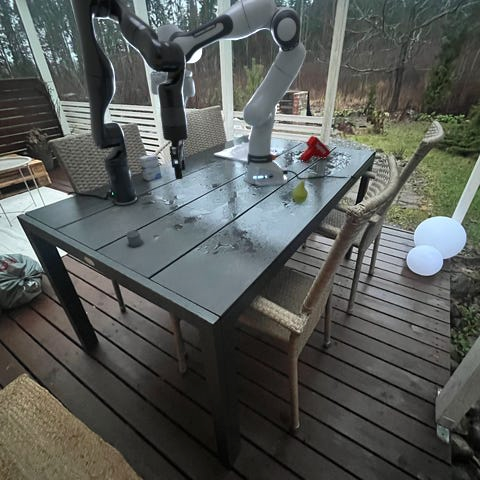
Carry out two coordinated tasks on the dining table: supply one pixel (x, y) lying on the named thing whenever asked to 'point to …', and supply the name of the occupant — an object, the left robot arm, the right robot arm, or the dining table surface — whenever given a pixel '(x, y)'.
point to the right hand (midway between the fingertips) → (174, 106)
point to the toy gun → (315, 149)
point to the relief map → (237, 153)
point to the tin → (134, 238)
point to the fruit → (300, 192)
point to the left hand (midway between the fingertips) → (180, 174)
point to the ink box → (150, 167)
